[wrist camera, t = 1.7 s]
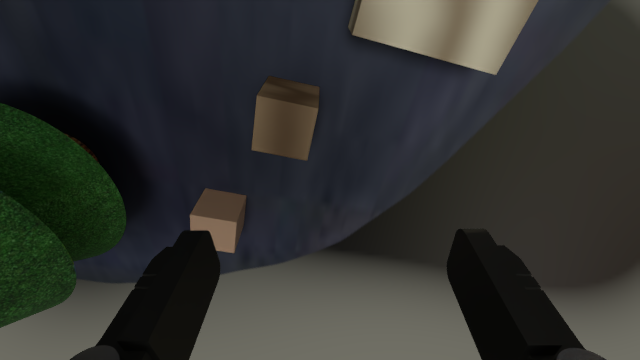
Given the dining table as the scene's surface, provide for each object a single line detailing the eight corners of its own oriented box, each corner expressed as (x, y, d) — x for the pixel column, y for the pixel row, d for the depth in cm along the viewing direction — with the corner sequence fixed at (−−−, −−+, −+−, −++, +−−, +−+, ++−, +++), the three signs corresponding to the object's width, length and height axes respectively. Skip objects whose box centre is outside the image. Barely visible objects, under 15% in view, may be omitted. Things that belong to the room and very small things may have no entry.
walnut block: (263, 123, 31) (251, 149, 26) (268, 75, 28) (257, 95, 23) (309, 132, 32) (306, 160, 27) (319, 86, 29) (318, 108, 24)
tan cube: (205, 218, 39) (191, 246, 34) (205, 187, 36) (190, 214, 32) (243, 224, 39) (234, 253, 35) (246, 195, 36) (236, 222, 32)
